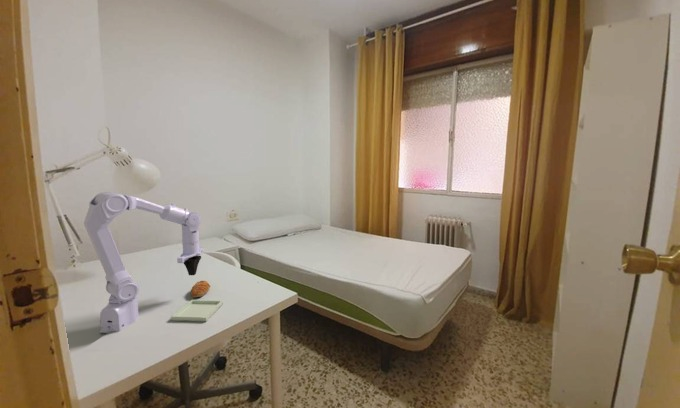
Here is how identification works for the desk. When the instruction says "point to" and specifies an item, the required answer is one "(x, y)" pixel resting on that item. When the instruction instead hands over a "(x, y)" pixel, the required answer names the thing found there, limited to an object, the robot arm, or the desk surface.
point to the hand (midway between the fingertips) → (192, 274)
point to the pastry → (200, 289)
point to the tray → (197, 310)
